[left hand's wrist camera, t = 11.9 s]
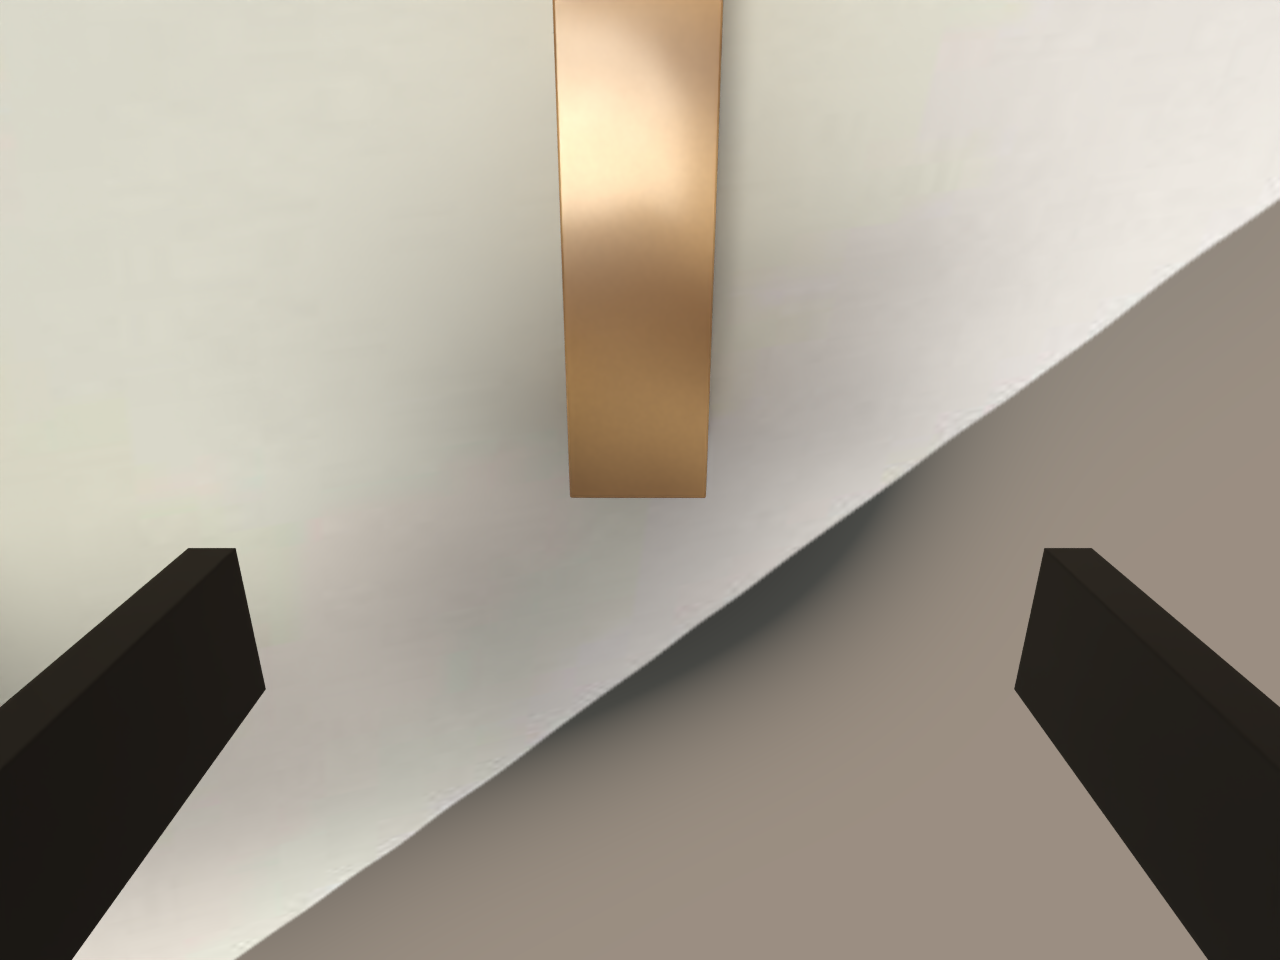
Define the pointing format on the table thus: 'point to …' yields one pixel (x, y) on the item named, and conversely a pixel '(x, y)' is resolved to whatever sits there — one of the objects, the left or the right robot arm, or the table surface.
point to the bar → (637, 239)
